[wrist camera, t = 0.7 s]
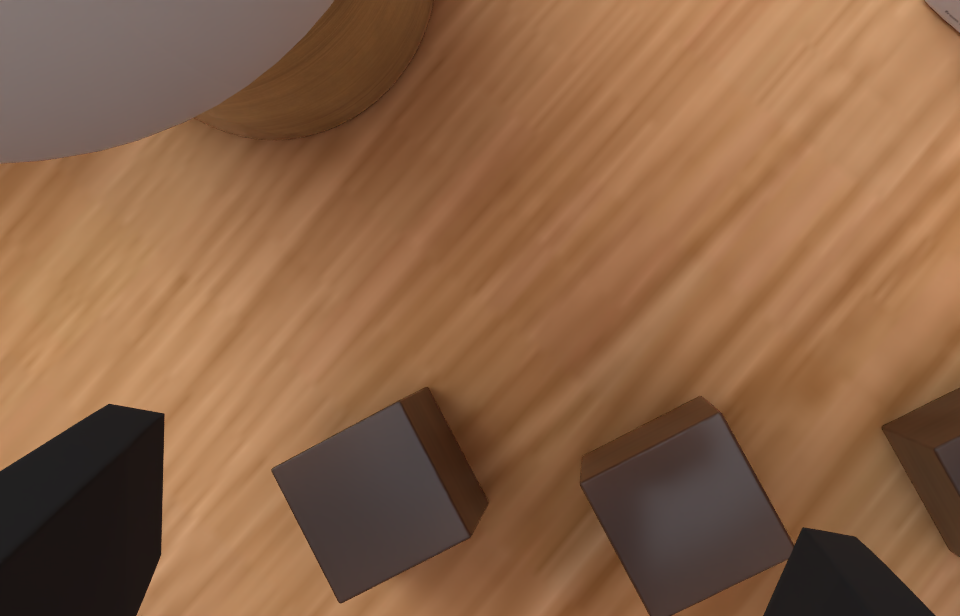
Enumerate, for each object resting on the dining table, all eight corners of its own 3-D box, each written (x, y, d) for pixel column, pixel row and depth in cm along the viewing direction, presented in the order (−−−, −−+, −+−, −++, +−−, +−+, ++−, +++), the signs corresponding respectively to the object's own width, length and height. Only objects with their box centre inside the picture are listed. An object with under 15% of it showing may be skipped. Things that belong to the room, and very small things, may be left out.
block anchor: (489, 503, 30) (471, 537, 26) (375, 561, 31) (339, 605, 26) (427, 386, 31) (399, 400, 26) (316, 446, 31) (269, 469, 27)
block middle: (768, 516, 29) (799, 554, 25) (645, 577, 30) (654, 625, 25) (701, 394, 29) (721, 410, 25) (580, 456, 30) (578, 483, 25)
